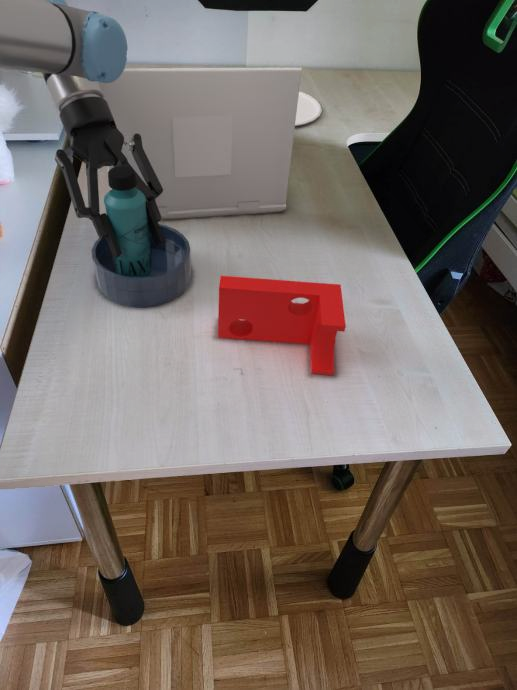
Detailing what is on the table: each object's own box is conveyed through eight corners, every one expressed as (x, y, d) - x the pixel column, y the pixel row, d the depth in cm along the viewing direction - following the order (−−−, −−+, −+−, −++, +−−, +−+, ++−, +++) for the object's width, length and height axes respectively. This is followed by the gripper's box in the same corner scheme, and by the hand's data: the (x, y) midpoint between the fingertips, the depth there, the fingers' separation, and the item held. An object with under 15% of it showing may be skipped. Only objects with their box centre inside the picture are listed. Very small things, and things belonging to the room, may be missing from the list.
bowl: (99, 312, 84) (93, 284, 80) (95, 254, 95) (90, 226, 91) (198, 301, 88) (197, 273, 83) (183, 246, 98) (182, 219, 94)
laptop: (257, 156, 127) (266, 24, 106) (285, 214, 109) (303, 69, 89) (111, 162, 119) (91, 22, 99) (115, 225, 102) (92, 71, 81)
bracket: (340, 280, 78) (345, 326, 71) (328, 329, 85) (333, 375, 78) (221, 271, 77) (214, 316, 70) (220, 321, 85) (214, 366, 78)
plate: (245, 81, 161) (245, 77, 160) (334, 102, 154) (335, 98, 153) (201, 114, 142) (201, 109, 141) (301, 139, 135) (301, 134, 134)
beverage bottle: (109, 286, 88) (89, 177, 73) (125, 263, 92) (109, 157, 78) (146, 293, 87) (133, 185, 73) (159, 270, 92) (150, 164, 77)
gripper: (135, 107, 86) (186, 237, 89) (16, 128, 78) (76, 272, 81) (146, 84, 80) (201, 226, 83) (17, 105, 71) (83, 263, 74)
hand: (139, 248), depth 82 cm, fingers closed on beverage bottle, 7 cm apart
